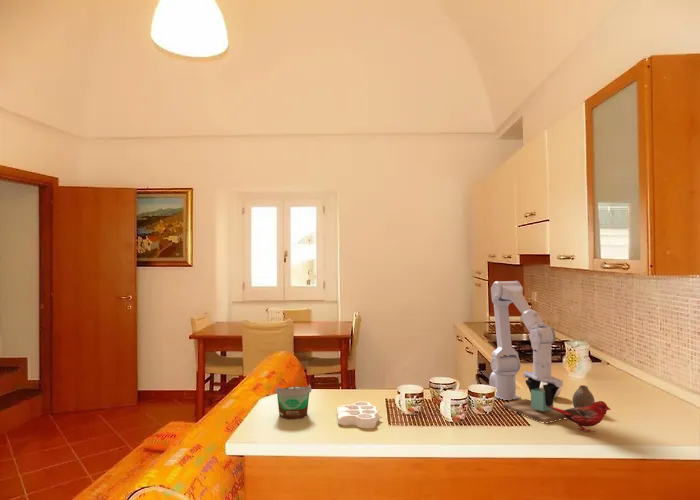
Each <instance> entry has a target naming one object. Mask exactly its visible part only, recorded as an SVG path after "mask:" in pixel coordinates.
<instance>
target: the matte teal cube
mask: <svg viewBox="0 0 700 500" xmlns="http://www.w3.org/2000/svg"><path fill="white" fill-rule="evenodd" d="M530 401H531V407H532V408H535V409H538V410H540V411H547V410H552V408H550V407H548V406H546V396H545V391H544V388H536V389H531V393H530ZM551 407H554V402H553V403H552V406H551Z"/></svg>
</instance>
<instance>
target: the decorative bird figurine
mask: <svg viewBox="0 0 700 500" xmlns="http://www.w3.org/2000/svg"><path fill="white" fill-rule="evenodd" d="M548 407H550V408H552V409H554V410H556V411H558V412H560V413H562V414H563V415H564V416H565V417H566V418H567V419H566V420H569V421H570V422H572V423H574V424H576V425H577V426H578V428H577V430H580V431H582V432H585V433H586V432H587V433H595V432H596V431H595V430H590V429H589V427H593V426H596V425H598V424H600V423H601V422H602V421H603V420H604V417H605V415H607V412H608V411H611V408H610V407H609V406H608V405H607V403H606V402H605V401H603V400H599V401H595V402H594V403H593V404H591V405H590V406H586V407H577V408H574V407H572V408H568V409H561V408H558V407H554V406H553V407H551V406H548ZM585 427H587V428H585Z"/></svg>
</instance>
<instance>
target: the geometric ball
mask: <svg viewBox="0 0 700 500" xmlns="http://www.w3.org/2000/svg"><path fill="white" fill-rule="evenodd" d="M546 384H547V385H548V383H544V382H541V383H540V388H544V387H543V385H546ZM561 391H562V387H559V389H558V390H557V392H556V394H555V396H554V399H555V398H556V397H558V396H560V394H561Z"/></svg>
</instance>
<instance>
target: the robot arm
mask: <svg viewBox="0 0 700 500" xmlns="http://www.w3.org/2000/svg"><path fill="white" fill-rule="evenodd" d="M523 292H524V287H523V286H522V284H521V283H520V281H519V280H509V281H508V280H507V281H498V280H496V281H494V282H493V283H492V284H491V286H490V295H491V296H490V297H491V302H492V304H493V311H494V323H495V333H496V344H497V347H496V349H494V350H493V351H492V352H491V354H490V355H491V360H490V368H491V370H492V372H491V373H490V375H489V377H488V379H489V380H488V381H489V382H488V386H493V387H496V389H497V392H496V397H495V398H496V399H499V398H500V399H499V400H502V399H503V400H502V401H505V400H508V401H513V400H518V399H522V398H521V397H522V396H520V395H517V394H516V384H517V383H516V380H517V379H516V378H517V377H516V375H518V372H520V370H521V366H522V365H521V360H520V357H519V352H518V351H517V350H516V349H514V348H513V347H512V336H511V333H512V332H511V325H510V324H511V323H510V313H509V306H510V304H512V303H513V305H514V306H515V307H516V309H517V310H518V311H519V312H520V314H521V318H520V319H521V321H522V322H523V324H524V325H525V327H526V329H527V330H528V332H529V334H528V335H529V341H530V344H531V345H530V346H531V349H532V371H528V370H525V371H523V372H522V377H523V378H524V379H525V384H526V386H527V387H528V389H529V393H530V394H531V389H536V388H540V383H541V382H544V383H548V385H547V384H546V385H543V387H544V391H545V396H546V406H552V403H553V404H554V399H555V398H554V396H555V394H556V392H557V390H558V389H559V387H561V388H562V387H563V381H564V380H563V379H560V378H557V377H555V376H552V344H554V343H555V341H556V333H555V330H554V328H553V327H552V326H549V325H548V324H545V322H544V321H543V319H542V318H541V316H539V314H538V312H537V311H536V310H534V309H532V308H531V307H530V305H529V303H528V301H527V300H526V298H525V296H524V294H523ZM526 378H527V379H526ZM512 399H513V400H512Z"/></svg>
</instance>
